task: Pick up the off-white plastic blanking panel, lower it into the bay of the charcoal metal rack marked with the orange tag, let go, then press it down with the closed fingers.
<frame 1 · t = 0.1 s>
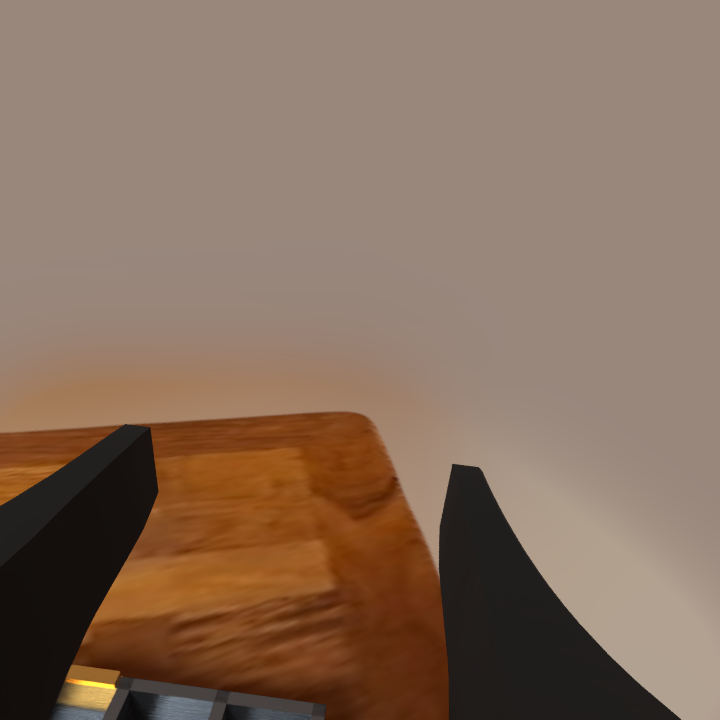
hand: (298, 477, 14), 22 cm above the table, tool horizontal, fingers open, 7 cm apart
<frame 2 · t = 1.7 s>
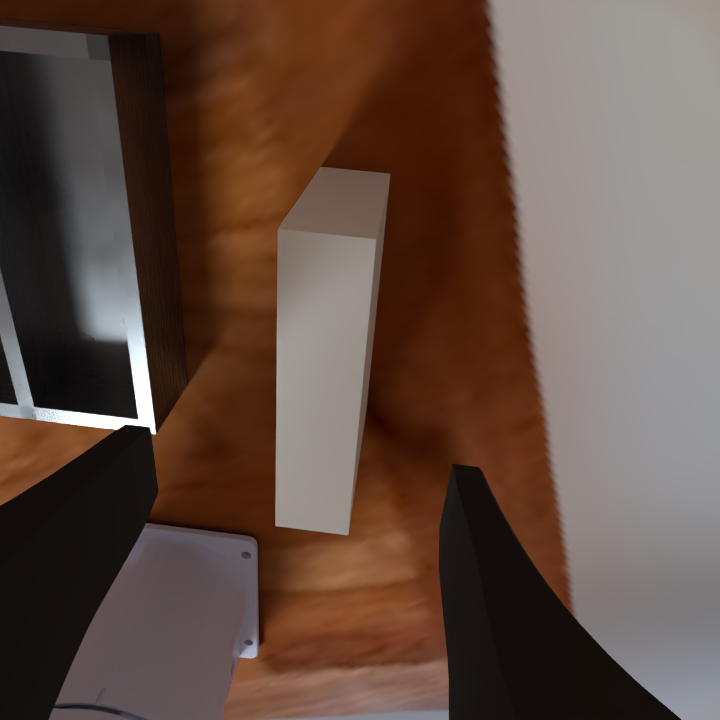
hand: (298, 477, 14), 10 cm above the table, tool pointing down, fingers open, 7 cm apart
panel: (346, 302, 23), on the table
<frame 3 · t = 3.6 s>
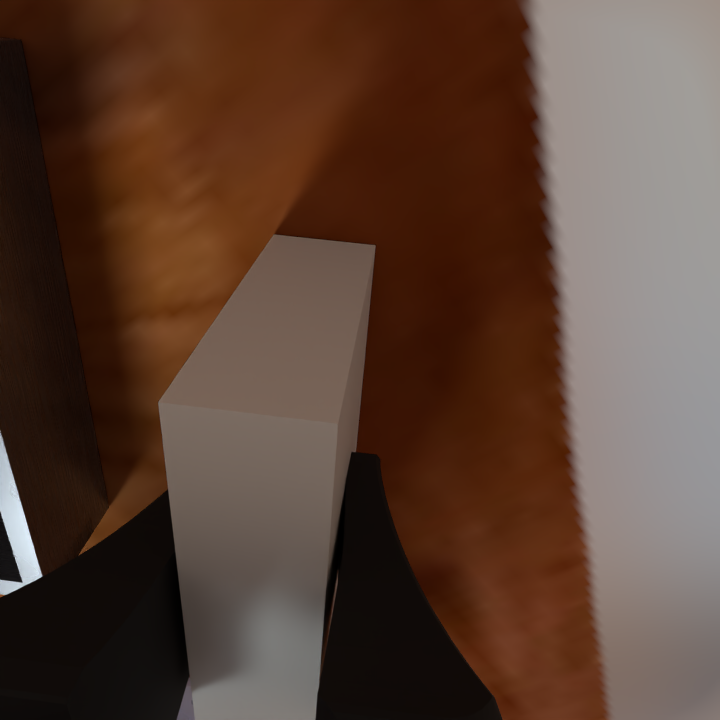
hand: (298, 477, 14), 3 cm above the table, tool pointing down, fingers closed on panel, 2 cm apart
panel: (315, 414, 16), on the table, touching gripper
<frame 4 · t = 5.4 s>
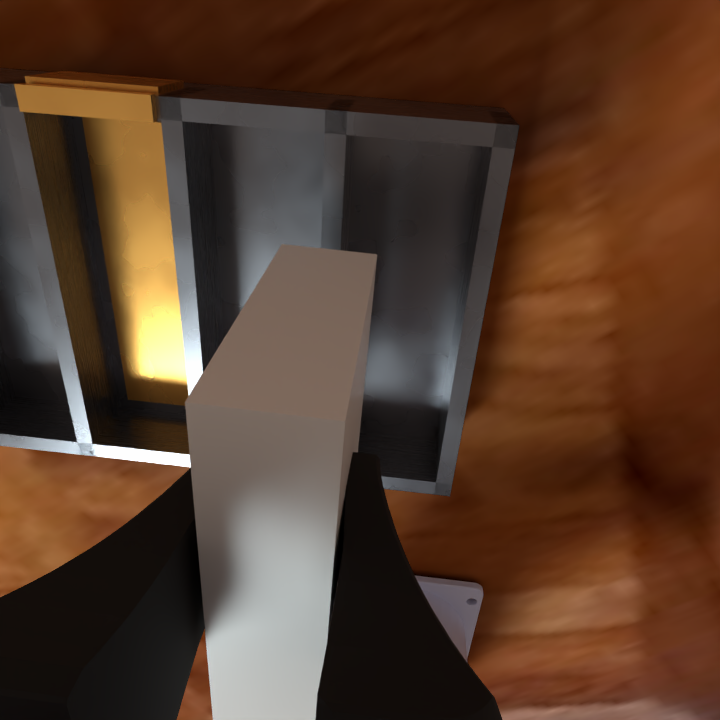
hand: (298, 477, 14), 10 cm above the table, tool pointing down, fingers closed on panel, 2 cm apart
panel: (320, 411, 17), point 6 cm above the table, touching gripper
rack: (220, 274, 23), on the table
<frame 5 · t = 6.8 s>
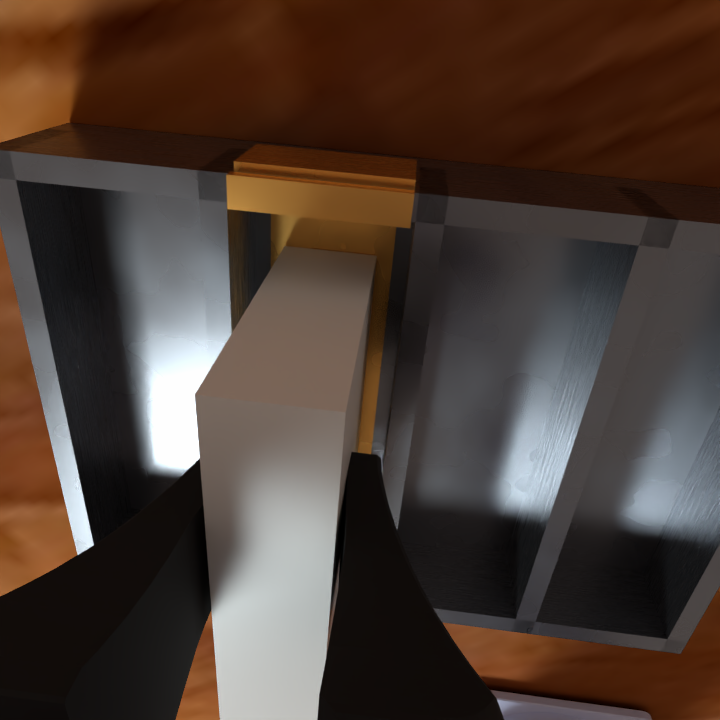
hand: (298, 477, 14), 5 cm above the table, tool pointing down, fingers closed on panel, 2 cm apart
panel: (322, 408, 18), point 1 cm above the table, touching gripper, rack
rack: (402, 378, 18), on the table
when the fingers open (5 cm above the table, at t = 7.5 s): panel stays where it is, resting on rack.
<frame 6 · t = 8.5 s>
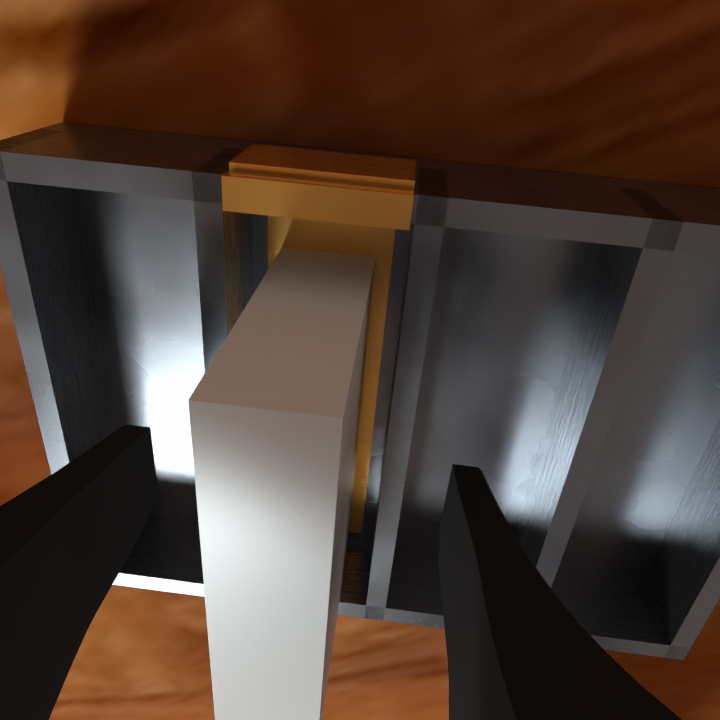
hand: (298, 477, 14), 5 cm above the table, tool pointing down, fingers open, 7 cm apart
panel: (320, 411, 18), point 1 cm above the table, touching rack
rack: (401, 381, 18), on the table
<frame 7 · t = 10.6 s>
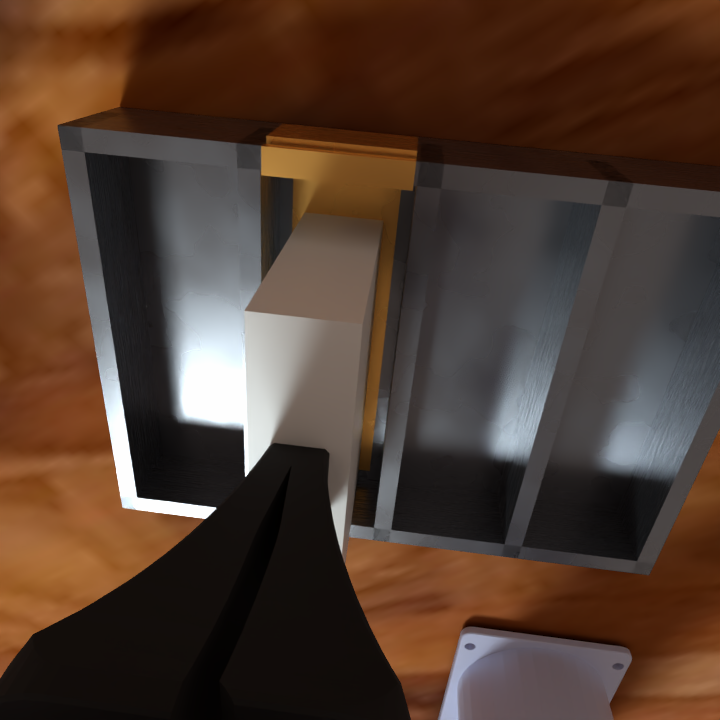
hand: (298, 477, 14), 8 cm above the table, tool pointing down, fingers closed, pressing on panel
panel: (334, 358, 20), point 1 cm above the table, touching gripper, rack
rack: (405, 333, 21), on the table
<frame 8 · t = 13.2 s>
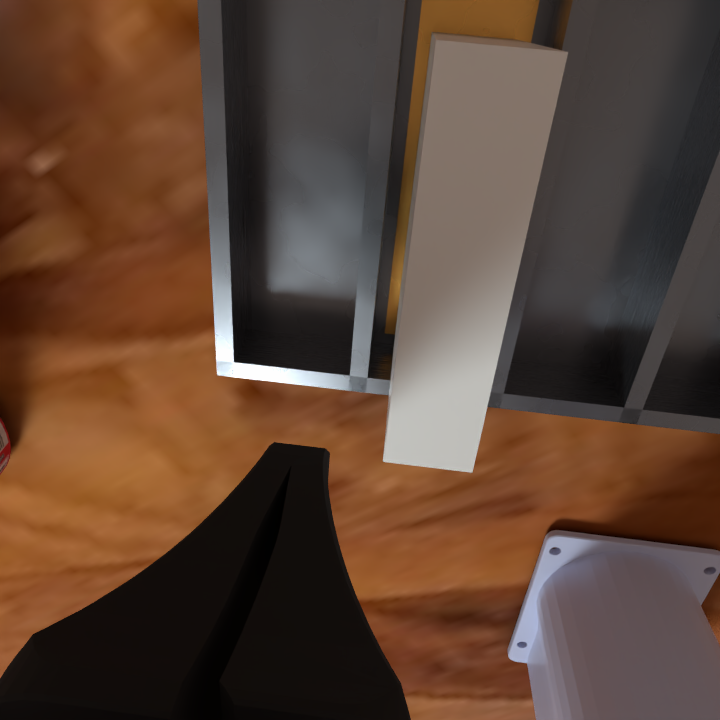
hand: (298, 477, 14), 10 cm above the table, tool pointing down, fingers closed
panel: (447, 209, 19), point 1 cm above the table, touching rack
rack: (518, 186, 20), on the table
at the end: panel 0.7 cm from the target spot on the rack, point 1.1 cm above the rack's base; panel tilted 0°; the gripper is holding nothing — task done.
